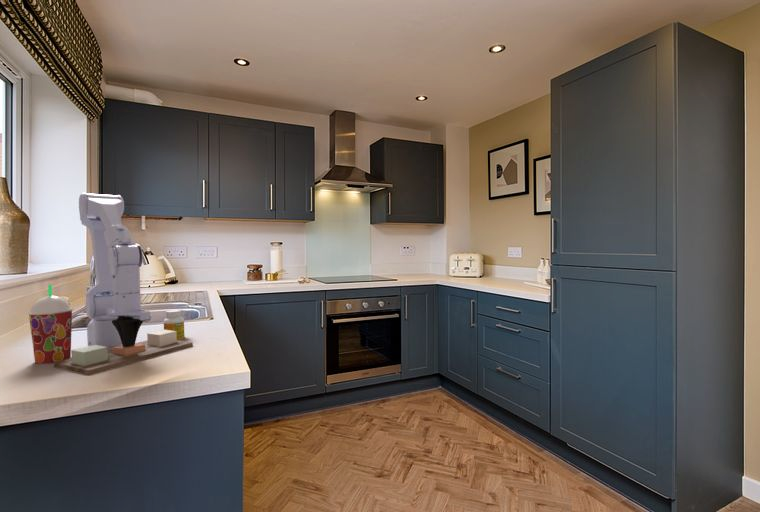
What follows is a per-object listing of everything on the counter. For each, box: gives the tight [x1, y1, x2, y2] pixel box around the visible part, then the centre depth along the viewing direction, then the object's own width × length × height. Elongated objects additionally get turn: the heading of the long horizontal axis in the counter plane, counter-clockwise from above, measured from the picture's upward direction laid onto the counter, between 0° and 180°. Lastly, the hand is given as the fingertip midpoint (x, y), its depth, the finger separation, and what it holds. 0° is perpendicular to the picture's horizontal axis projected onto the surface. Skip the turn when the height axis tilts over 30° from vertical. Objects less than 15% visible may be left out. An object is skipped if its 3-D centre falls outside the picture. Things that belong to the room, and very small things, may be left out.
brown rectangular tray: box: [53, 339, 194, 376], centre depth 101 cm, size 14×26×2 cm, turn 154°
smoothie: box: [27, 284, 74, 365], centre depth 98 cm, size 8×8×20 cm
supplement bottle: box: [163, 309, 185, 341], centre depth 119 cm, size 5×5×10 cm
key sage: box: [71, 345, 109, 366], centre depth 93 cm, size 5×5×4 cm
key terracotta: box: [112, 342, 145, 356], centre depth 101 cm, size 5×5×4 cm
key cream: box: [146, 329, 177, 347], centre depth 109 cm, size 5×5×4 cm
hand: (129, 346), depth 101 cm, fingers closed, pressing on key terracotta
